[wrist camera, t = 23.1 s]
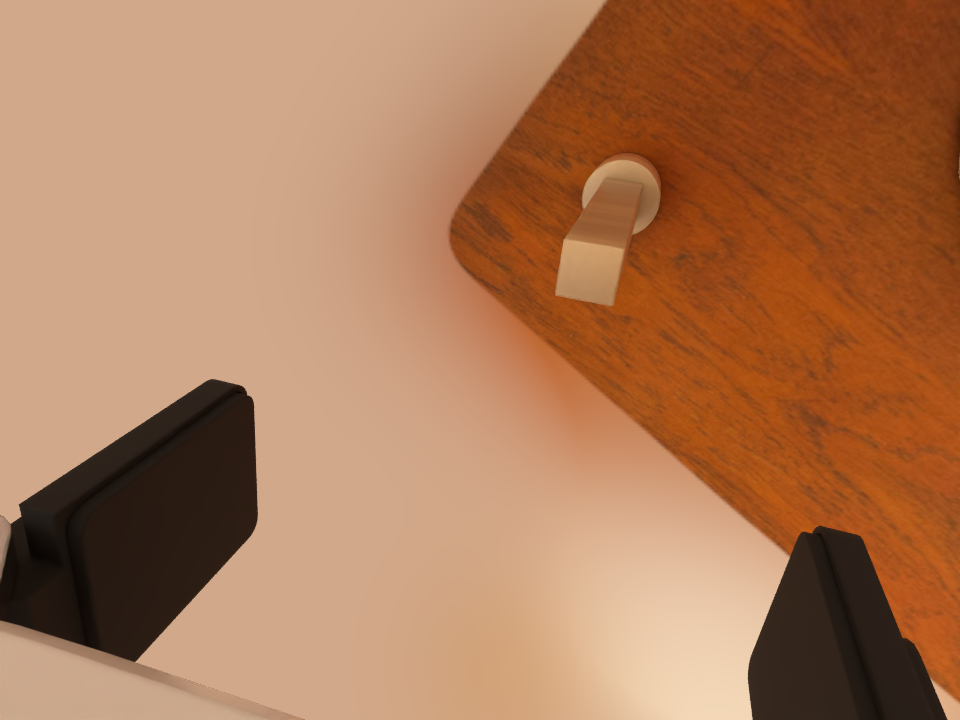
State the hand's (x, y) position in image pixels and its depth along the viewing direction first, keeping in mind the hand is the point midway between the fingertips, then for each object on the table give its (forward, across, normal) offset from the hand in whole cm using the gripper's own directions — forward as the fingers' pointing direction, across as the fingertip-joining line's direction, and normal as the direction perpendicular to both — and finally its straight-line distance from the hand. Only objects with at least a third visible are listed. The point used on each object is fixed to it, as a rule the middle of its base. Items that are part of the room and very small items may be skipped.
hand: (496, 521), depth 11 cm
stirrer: (+26, 0, -2) cm, 26 cm away
